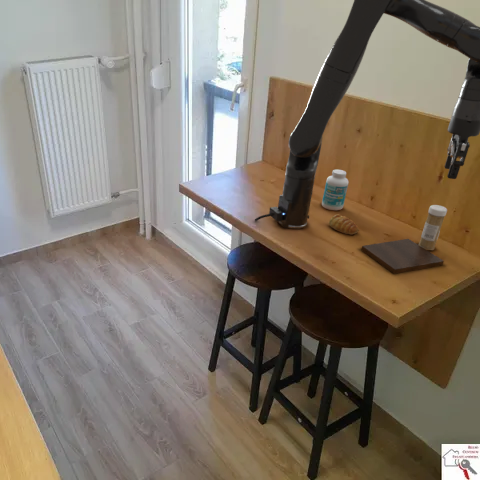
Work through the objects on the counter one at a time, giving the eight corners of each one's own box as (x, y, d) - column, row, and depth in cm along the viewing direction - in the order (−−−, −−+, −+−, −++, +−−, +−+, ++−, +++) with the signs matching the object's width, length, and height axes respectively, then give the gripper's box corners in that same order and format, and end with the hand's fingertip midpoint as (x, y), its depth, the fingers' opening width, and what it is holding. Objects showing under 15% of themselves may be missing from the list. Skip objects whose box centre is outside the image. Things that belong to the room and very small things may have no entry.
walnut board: (393, 273, 131) (394, 269, 130) (361, 250, 143) (362, 245, 142) (442, 265, 136) (444, 260, 135) (407, 242, 147) (408, 238, 147)
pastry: (362, 232, 153) (365, 222, 151) (348, 237, 150) (351, 227, 148) (339, 221, 160) (341, 211, 158) (325, 226, 157) (327, 216, 155)
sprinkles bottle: (437, 248, 144) (450, 208, 138) (429, 252, 142) (442, 211, 136) (423, 242, 148) (435, 203, 141) (414, 246, 145) (426, 206, 139)
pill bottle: (320, 209, 169) (327, 173, 163) (322, 201, 175) (329, 166, 169) (342, 212, 167) (350, 176, 160) (343, 204, 173) (351, 169, 166)
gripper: (449, 108, 133) (433, 164, 141) (455, 120, 121) (437, 179, 129) (480, 111, 130) (461, 167, 138) (489, 123, 119) (468, 183, 126)
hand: (449, 173), depth 133 cm, fingers open, 8 cm apart
